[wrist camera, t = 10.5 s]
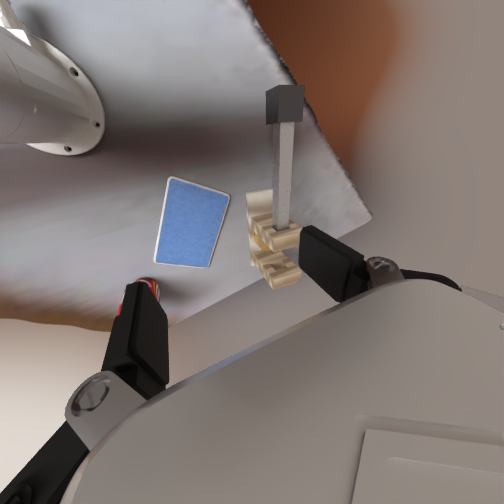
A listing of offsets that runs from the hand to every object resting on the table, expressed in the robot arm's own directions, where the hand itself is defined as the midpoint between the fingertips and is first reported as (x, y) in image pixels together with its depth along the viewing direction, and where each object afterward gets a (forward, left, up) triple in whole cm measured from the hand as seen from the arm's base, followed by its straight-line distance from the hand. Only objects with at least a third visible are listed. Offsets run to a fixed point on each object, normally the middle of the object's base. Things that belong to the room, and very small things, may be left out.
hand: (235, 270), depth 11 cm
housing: (+14, +15, -31) cm, 37 cm away
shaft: (0, +15, -24) cm, 28 cm away
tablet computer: (+10, -2, -31) cm, 33 cm away
